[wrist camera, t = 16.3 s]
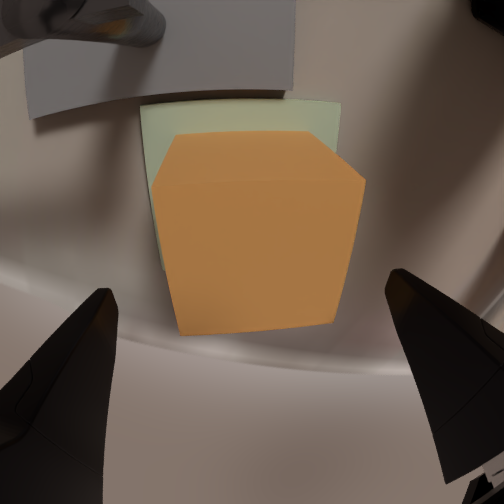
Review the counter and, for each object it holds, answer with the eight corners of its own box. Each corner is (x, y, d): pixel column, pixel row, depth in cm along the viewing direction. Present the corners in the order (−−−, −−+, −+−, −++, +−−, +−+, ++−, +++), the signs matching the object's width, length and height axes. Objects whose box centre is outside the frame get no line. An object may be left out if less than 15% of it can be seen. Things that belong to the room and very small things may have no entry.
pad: (337, 102, 13) (341, 103, 12) (317, 257, 18) (319, 261, 18) (141, 104, 12) (140, 106, 12) (163, 266, 17) (162, 270, 17)
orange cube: (308, 131, 13) (366, 180, 8) (298, 240, 17) (333, 322, 12) (175, 134, 13) (151, 187, 8) (187, 246, 16) (180, 335, 11)
